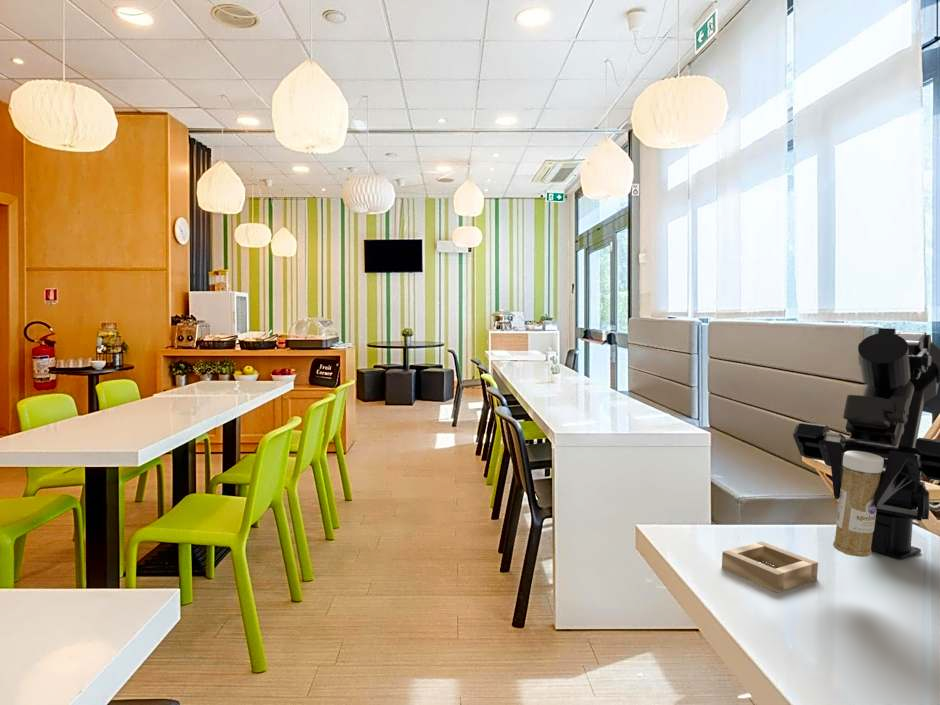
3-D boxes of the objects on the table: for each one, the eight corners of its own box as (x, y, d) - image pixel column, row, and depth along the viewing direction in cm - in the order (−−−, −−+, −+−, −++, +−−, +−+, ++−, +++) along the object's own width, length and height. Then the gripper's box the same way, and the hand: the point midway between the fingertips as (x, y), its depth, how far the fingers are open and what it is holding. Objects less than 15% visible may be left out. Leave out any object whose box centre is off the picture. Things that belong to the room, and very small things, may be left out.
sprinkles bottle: (863, 561, 82) (876, 461, 80) (826, 548, 86) (838, 452, 84) (876, 553, 85) (889, 456, 83) (840, 541, 88) (851, 447, 87)
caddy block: (761, 557, 98) (762, 541, 98) (817, 579, 90) (818, 562, 90) (721, 568, 94) (722, 551, 93) (776, 592, 86) (777, 574, 86)
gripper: (800, 367, 92) (767, 453, 86) (960, 379, 79) (935, 483, 72) (816, 414, 98) (786, 498, 92) (967, 432, 85) (944, 532, 78)
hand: (855, 501), depth 83 cm, fingers closed on sprinkles bottle, 4 cm apart
